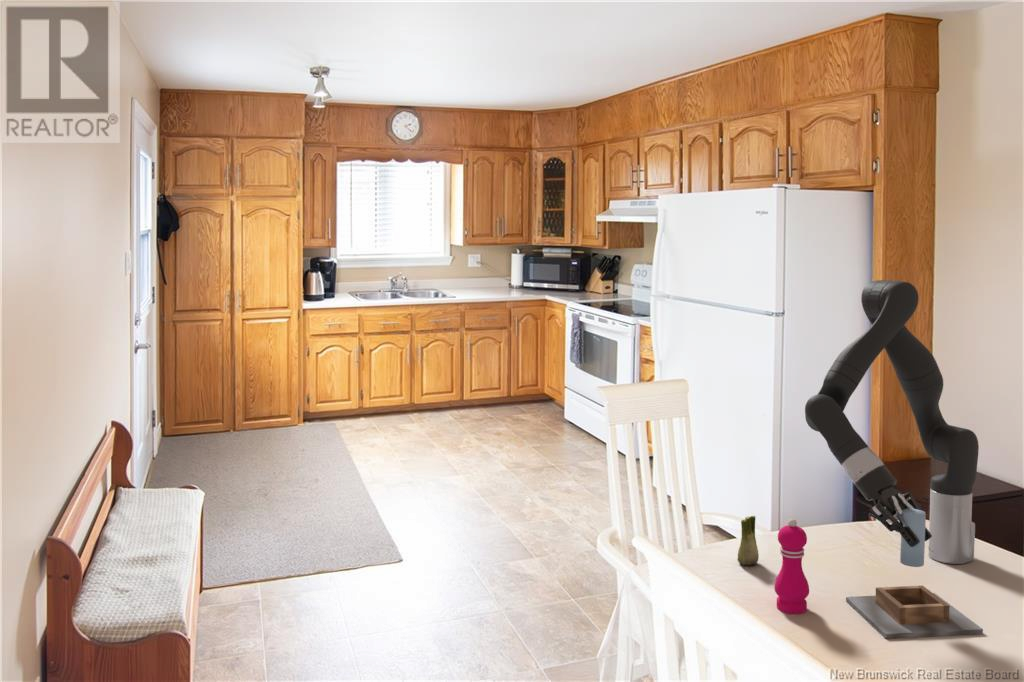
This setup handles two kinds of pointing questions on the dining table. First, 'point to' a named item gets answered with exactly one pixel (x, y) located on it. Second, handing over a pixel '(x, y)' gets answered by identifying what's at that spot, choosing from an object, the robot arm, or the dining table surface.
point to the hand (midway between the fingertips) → (921, 541)
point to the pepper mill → (792, 570)
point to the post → (917, 525)
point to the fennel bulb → (748, 543)
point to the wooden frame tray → (911, 613)
